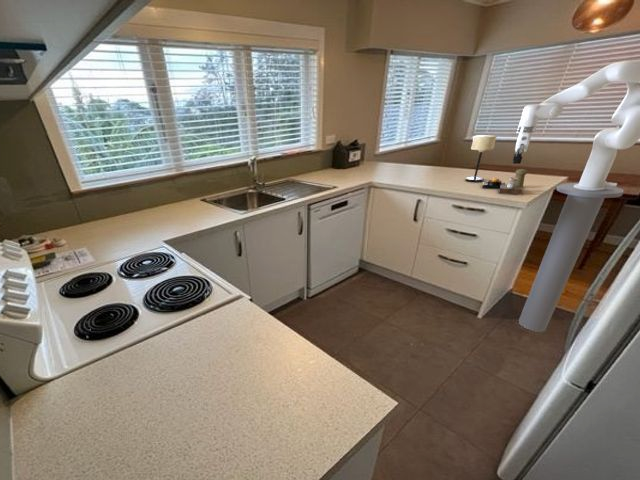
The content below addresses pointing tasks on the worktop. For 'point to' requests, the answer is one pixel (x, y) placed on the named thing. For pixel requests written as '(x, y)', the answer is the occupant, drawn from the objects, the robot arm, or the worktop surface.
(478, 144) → the lamp
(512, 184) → the dimmer knob
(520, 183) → the olive upright piece
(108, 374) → the worktop surface
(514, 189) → the dimmer panel
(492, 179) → the lamp button
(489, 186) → the switch block
